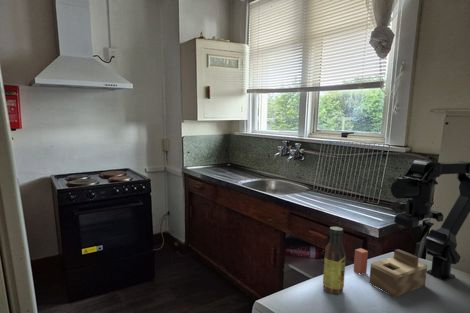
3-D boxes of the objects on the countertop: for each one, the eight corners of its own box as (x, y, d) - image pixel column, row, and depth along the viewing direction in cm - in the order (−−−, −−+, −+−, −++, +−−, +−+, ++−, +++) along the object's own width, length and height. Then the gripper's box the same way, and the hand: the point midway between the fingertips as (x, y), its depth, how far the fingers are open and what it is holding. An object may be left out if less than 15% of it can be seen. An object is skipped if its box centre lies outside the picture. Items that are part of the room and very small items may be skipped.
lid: (400, 257, 107) (401, 246, 106) (426, 268, 99) (428, 256, 99) (370, 265, 99) (371, 254, 99) (396, 278, 91) (397, 265, 91)
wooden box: (399, 273, 108) (400, 257, 107) (425, 285, 100) (426, 268, 99) (369, 283, 100) (370, 266, 99) (394, 297, 92) (396, 278, 91)
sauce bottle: (344, 296, 92) (349, 233, 90) (323, 293, 93) (327, 231, 91) (341, 285, 98) (345, 226, 96) (321, 283, 99) (325, 224, 97)
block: (359, 269, 110) (361, 248, 109) (366, 273, 107) (368, 251, 106) (353, 270, 109) (355, 249, 108) (360, 274, 106) (362, 252, 105)
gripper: (413, 190, 113) (410, 231, 114) (381, 194, 104) (377, 238, 105) (446, 197, 103) (441, 241, 104) (413, 202, 94) (409, 250, 96)
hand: (416, 242), depth 103 cm, fingers closed
